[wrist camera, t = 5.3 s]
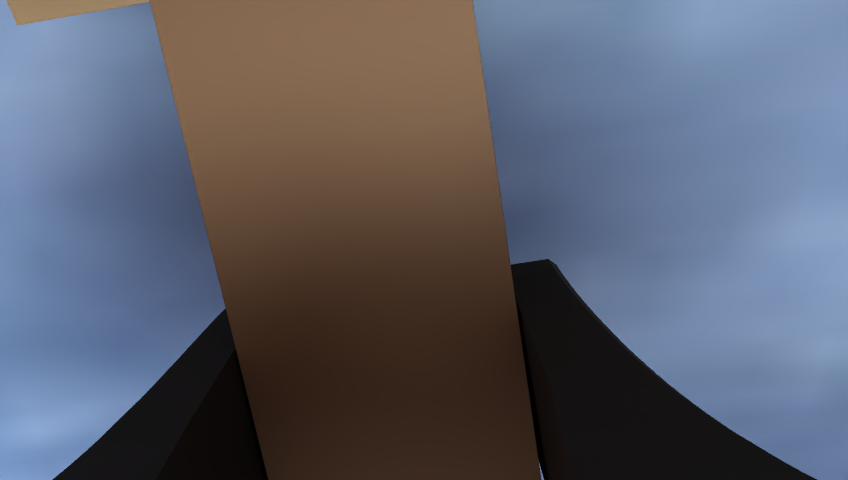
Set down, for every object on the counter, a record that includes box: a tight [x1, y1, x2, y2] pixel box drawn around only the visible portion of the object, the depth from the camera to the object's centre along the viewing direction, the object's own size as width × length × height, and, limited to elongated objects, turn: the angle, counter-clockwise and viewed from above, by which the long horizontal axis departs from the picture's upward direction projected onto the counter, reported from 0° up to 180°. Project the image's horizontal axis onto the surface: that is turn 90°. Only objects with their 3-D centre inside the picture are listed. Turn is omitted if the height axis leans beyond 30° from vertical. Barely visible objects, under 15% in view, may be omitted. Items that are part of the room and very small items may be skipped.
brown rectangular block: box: [150, 0, 541, 480], centre depth 12 cm, size 13×4×6 cm, turn 9°
